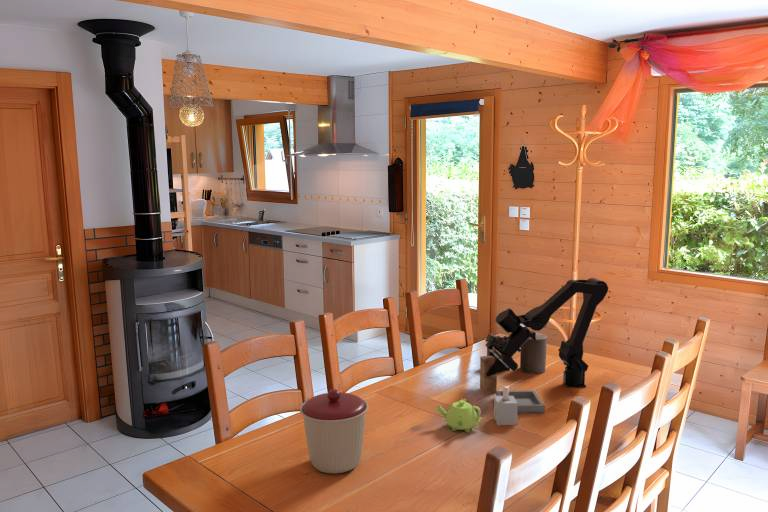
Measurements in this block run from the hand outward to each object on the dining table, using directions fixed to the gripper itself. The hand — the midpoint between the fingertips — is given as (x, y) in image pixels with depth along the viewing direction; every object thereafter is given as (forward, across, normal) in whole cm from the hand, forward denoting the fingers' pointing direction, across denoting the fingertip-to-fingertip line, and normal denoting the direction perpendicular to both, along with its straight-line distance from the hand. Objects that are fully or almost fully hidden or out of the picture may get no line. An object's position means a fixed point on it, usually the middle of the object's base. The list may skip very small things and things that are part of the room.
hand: (484, 373), depth 215 cm
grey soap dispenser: (+6, +25, +4) cm, 26 cm away
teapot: (+17, +26, -7) cm, 32 cm away
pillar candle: (-13, -17, +23) cm, 32 cm away
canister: (+44, +42, -35) cm, 71 cm away
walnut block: (+4, 0, +6) cm, 7 cm away
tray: (0, +15, +10) cm, 18 cm away
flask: (-4, -21, +14) cm, 26 cm away
